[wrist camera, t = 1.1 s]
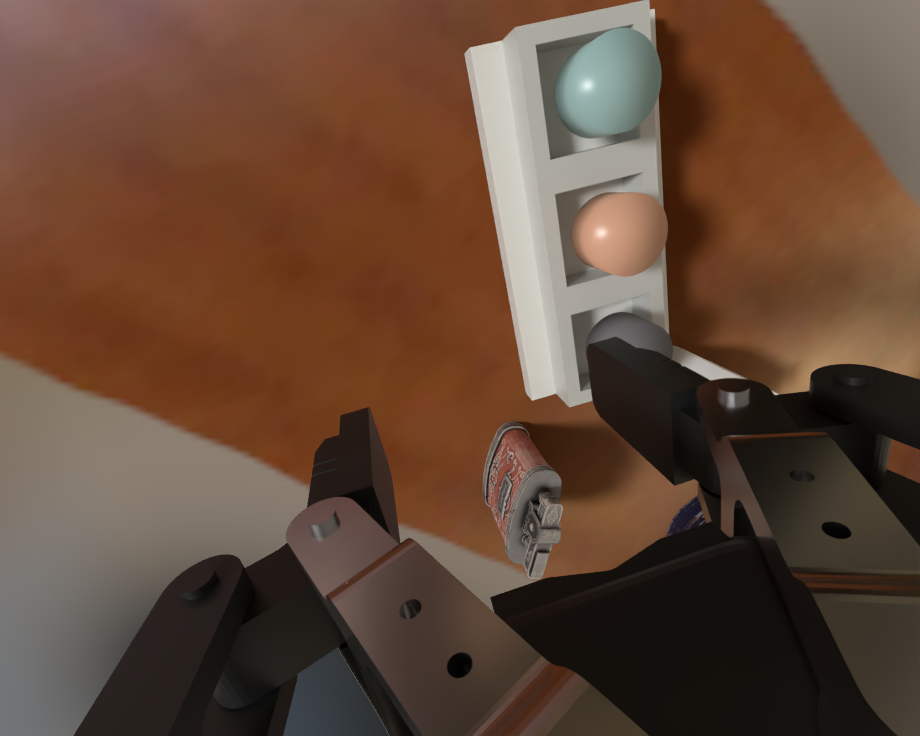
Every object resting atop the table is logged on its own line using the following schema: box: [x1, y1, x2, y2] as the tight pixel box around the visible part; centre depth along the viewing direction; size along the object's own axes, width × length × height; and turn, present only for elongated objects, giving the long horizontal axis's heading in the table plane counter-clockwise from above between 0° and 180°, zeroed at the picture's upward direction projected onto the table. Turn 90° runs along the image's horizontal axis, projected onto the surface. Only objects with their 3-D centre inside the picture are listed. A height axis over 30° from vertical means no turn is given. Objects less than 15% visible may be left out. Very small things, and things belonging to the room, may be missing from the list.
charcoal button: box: [585, 312, 673, 362], centre depth 32 cm, size 5×5×3 cm
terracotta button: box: [571, 192, 668, 277], centre depth 29 cm, size 5×5×3 cm
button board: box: [465, 0, 669, 407], centre depth 33 cm, size 24×12×4 cm, turn 13°
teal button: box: [555, 28, 662, 139], centre depth 26 cm, size 5×5×3 cm
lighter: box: [483, 422, 563, 579], centre depth 36 cm, size 8×3×10 cm, turn 169°
